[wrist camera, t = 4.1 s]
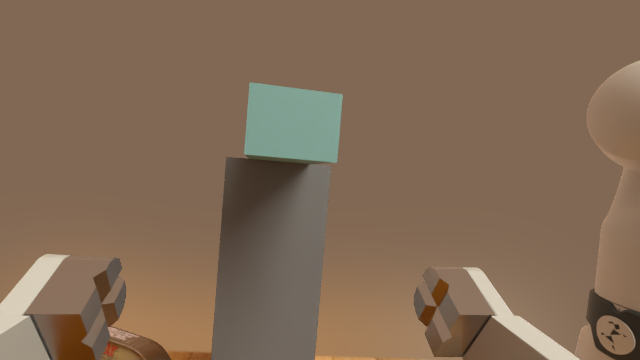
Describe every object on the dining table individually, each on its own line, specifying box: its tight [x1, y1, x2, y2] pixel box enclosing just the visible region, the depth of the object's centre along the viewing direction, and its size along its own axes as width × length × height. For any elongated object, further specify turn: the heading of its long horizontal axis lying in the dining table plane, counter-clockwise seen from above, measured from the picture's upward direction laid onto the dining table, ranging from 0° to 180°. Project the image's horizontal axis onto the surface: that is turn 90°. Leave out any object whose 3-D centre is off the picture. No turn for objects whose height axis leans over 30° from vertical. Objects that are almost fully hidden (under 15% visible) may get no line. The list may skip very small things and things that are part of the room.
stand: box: [211, 157, 331, 360], centre depth 28 cm, size 7×12×26 cm, turn 11°
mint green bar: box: [244, 83, 343, 164], centre depth 23 cm, size 4×18×3 cm, turn 11°
